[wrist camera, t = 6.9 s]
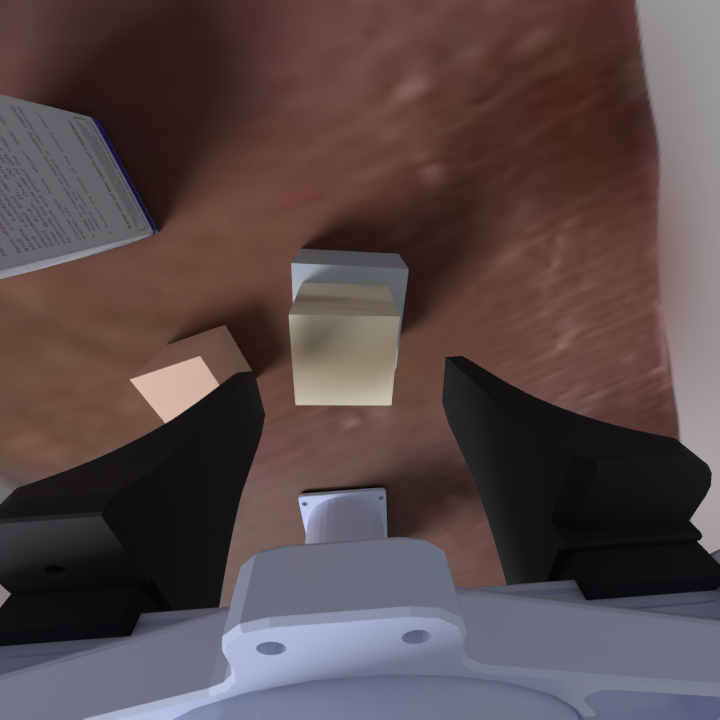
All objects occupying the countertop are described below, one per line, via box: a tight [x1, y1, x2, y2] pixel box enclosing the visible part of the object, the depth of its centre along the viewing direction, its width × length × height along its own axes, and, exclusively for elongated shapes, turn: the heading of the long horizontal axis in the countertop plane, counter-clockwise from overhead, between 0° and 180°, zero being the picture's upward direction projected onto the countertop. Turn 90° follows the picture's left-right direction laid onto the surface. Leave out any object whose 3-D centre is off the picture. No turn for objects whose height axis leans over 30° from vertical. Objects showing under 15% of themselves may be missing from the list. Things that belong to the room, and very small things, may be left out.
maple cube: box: [289, 283, 400, 405], centre depth 16 cm, size 4×4×4 cm
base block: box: [291, 249, 409, 369], centre depth 20 cm, size 6×6×4 cm
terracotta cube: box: [130, 325, 252, 423], centre depth 22 cm, size 4×4×4 cm
